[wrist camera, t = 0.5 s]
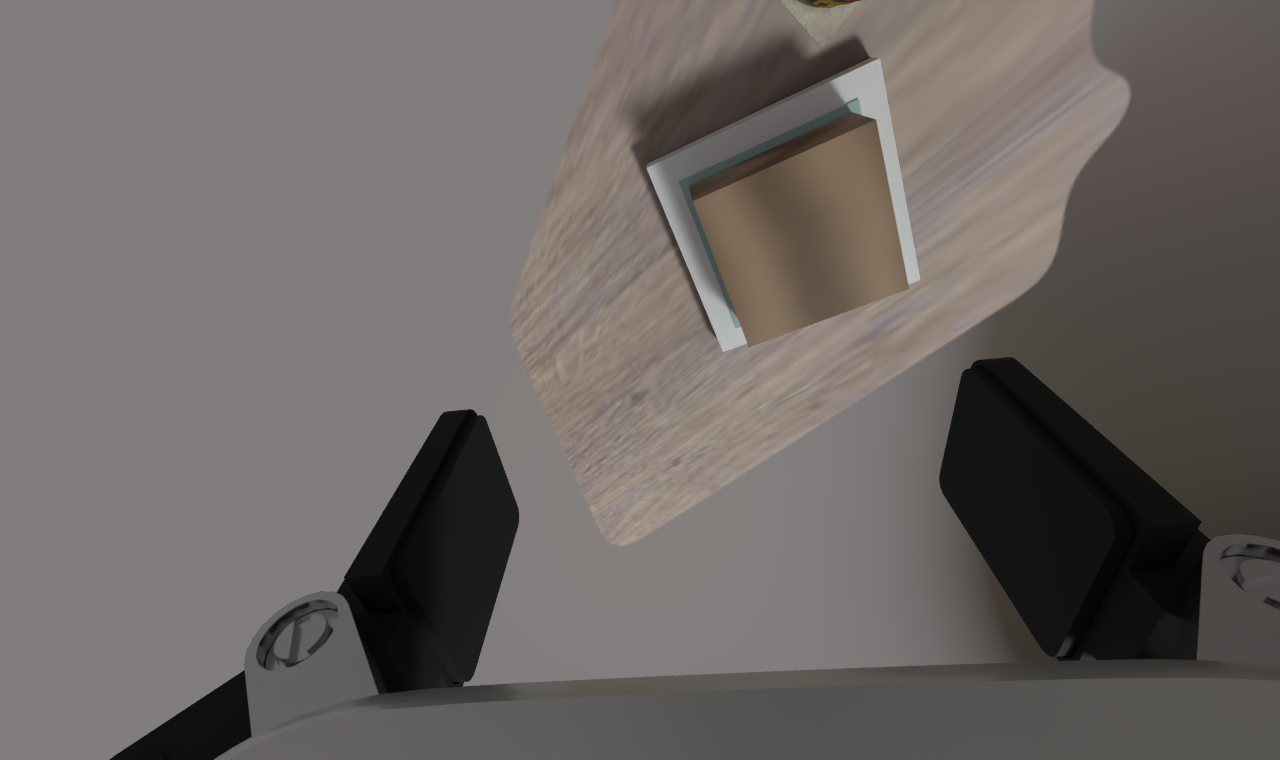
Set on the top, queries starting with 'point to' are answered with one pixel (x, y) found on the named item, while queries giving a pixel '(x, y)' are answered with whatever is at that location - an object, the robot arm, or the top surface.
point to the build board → (758, 134)
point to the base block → (804, 229)
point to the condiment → (821, 16)
